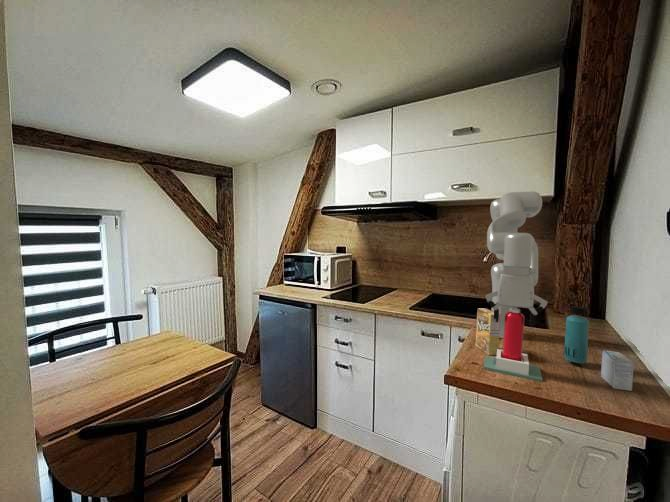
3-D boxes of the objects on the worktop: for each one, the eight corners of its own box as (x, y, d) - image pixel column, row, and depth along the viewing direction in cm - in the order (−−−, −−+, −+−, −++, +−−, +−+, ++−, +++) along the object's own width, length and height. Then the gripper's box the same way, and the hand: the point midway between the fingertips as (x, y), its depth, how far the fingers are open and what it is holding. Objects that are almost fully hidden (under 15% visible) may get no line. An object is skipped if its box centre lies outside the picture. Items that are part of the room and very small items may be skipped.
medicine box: (632, 392, 85) (634, 362, 85) (612, 388, 87) (614, 359, 86) (618, 379, 93) (620, 352, 92) (600, 376, 94) (602, 349, 94)
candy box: (474, 346, 118) (476, 308, 117) (484, 345, 119) (486, 307, 118) (488, 355, 109) (490, 314, 108) (499, 355, 110) (501, 314, 109)
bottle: (514, 371, 95) (517, 309, 94) (498, 364, 100) (501, 305, 99) (524, 368, 98) (528, 308, 96) (508, 361, 102) (512, 304, 101)
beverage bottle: (587, 363, 103) (591, 306, 102) (586, 370, 99) (590, 310, 97) (563, 358, 108) (567, 303, 106) (561, 363, 103) (565, 306, 102)
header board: (485, 358, 107) (485, 346, 107) (539, 368, 99) (539, 356, 99) (483, 369, 98) (484, 356, 98) (542, 381, 90) (543, 367, 90)
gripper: (547, 272, 96) (544, 324, 97) (487, 268, 104) (485, 316, 105) (550, 275, 89) (547, 331, 90) (485, 270, 98) (483, 322, 99)
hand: (513, 323), depth 98 cm, fingers open, 9 cm apart
